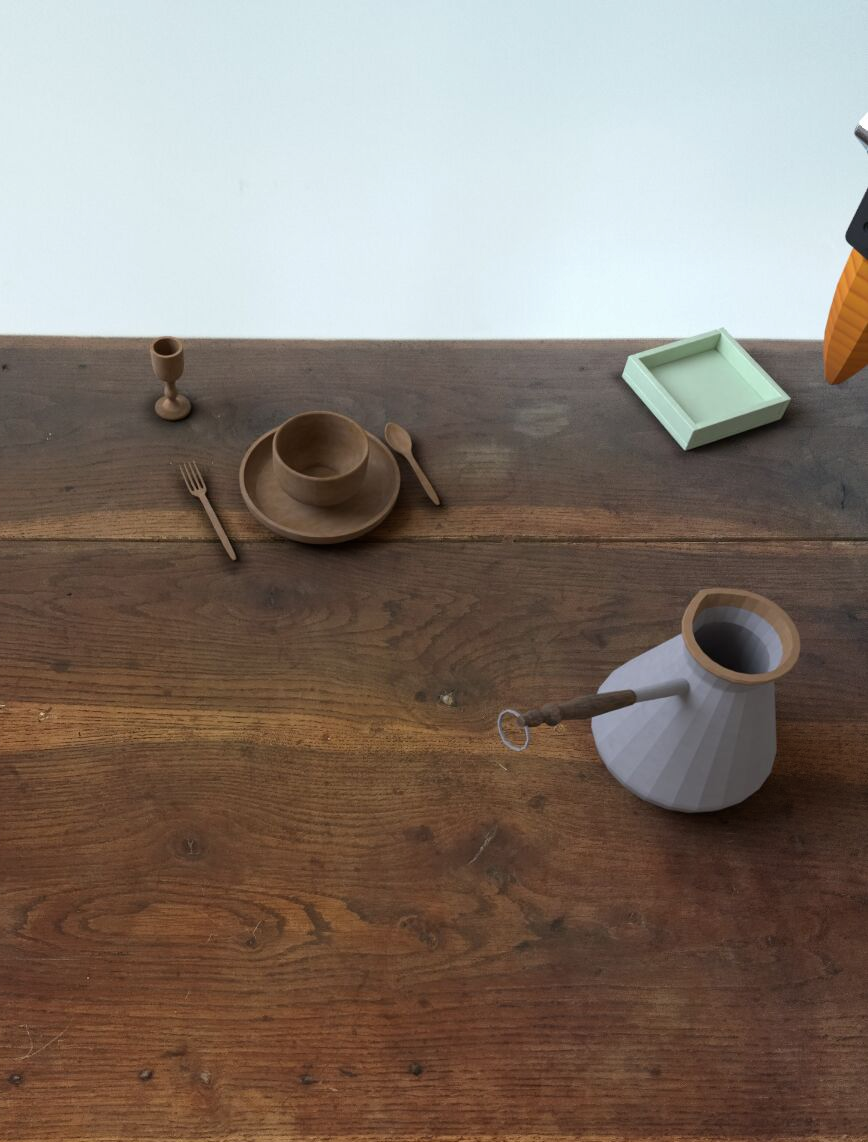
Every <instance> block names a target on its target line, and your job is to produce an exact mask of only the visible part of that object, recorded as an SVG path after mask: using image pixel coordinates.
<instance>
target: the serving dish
mask: <svg viewBox="0 0 868 1142" xmlns="http://www.w3.org/2000/svg"><path fill="white" fill-rule="evenodd" d="M621 378H622V379H623V380H624V381H625V382H626V383H627V385H628V386H629V388H631V390H632V391H634V393H635V394H636V395H637V396H638V398H639V399H640V400H641V401H642V403H644V404H645V405H646V407H647V408H648V410H650V412H651V413H652V414H653V415H654V417H656V419H657V420H658V421H659V423H660V424H661V425H662V426H663V427H664V428H665V429H666V430H667V432H668V433H669V434H670V435H671V437H672V438H673V439H674V440H675V442H677V443H678V445H679V446H680V447H681V448H682V449H683V450H684V451H685V452H686V451H689V450H692V449H695V448H698V447H701V446H704V445H707V444H710V443H713V442H716V441H719V440H722V439H725V438H728V437H731V436H734V435H737V434H741V433H743V432H746V431H748V430H749V431H750V430H752V429H755V428H759V427H761V426H764V425H767V424H770V423H774V422H776V421H779V420H781V419H782V417H783V416H784V413H785V412H786V410H787V408H788V406H789V404H790V402H791V400H792V398H791V397H790V396H789V394H787V392H786V391H784V389H782V387H781V386H780V385H779V384H778V383H777V382H776V381H775V380H774V379H773V377H771V376H770V375H769V374H768V373H767V371H765V369H764V368H762V366H761V365H760V363H758V362H757V361H756V360H755V359H754V358H753V357H752V356H751V355H750V354H749V352H747V351H746V350H745V348H744V347H742V345H741V344H740V343H739V342H738V341H737V340H736V339H735V338H734V336H732V335H731V333H730V332H728V330H727V329H725V327H720V328H716V329H712V330H710V331H707V332H704V333H703V332H702V333H700V334H696V335H693V336H690V337H687V338H683V339H680V340H675V341H673V342H670V343H667V344H664V345H660V346H656V347H653V348H651V349H647V350H644V351H640V352H638V353H635V354H631V355H629V356H628V357H627V360H626V364H625V366H624V369H623V372H622V375H621Z"/></svg>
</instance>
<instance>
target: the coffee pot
mask: <svg viewBox="0 0 868 1142" xmlns="http://www.w3.org/2000/svg"><path fill="white" fill-rule="evenodd" d="M796 626H797V625H795V623H794V621H793V620H792V619H791V617H790V616H789V615H788V613H787V612H786V611H784V609H783V608H781V607H780V606H779V605H777V603H776V602H773V601H772V600H770V599H768V598H766V597H765V596H763V595H761V594H757V593H755V592H752V591H749V590H744V589H739V588H738V589H737V588H724V587H723V588H722V587H716V588H715V587H714V588H702V589H700V590H699V591H698V592H697V593H696V595H695V596H694V597H693V598H692V600H691V601H690V602H689V604H688V605H687V607H686V609H685V610H684V614H683V616H682V620H681V633H679V634H677V635H675V636H674V637H672V638H670V639H669V640H666V641H664V642H662V643H661V644H658V645H657V646H655V647H653V648H651V649H649V650H647V651H646V652H644V653H642V654H640V655H637V656H636V657H634V658H631V659H630V660H628V661H627V662H625V663H624V664H623V665H620V666H619V667H617V668H616V669H615V670H613V671H612V672H611V673H610V674H609V675H608V677H606V679H605V680H604V681H603V683H602V684H601V685H600V686H599V687H598V690H597V693H592V694H585V695H579V696H578V695H577V696H576V697H574V698H572V699H569V700H567V701H565V702H562V703H560V704H557V703H555V702H553V701H552V702H547V703H545V704H543V707H542V709H540V710H539V709H530V710H528V711H526V712H524V713H522V714H520V713H519V712H518V711H516V710H513V709H511V708H509V709H505V710H504V711H502V712H500V713H499V716H498V719H497V728H498V733H499V735H500V737H501V740H502V742H503V743H504V745H506V746H507V747H508V748H509V749H511V750H512V751H513V750H514V751H517V752H521V751H523V750H525V749H528V747H529V745H530V742H531V740H532V738H531V732H530V728H538V727H540V726H541V725H542V724H545V725H547V726H548V727H552V728H553V727H557V726H558V725H560V724H561V722H562V721H584V720H589V719H591V725H590V728H591V732H592V735H593V739H594V743H595V747H596V750H597V752H598V755H599V756H600V758H601V760H602V762H603V763H604V766H605V767H606V768H607V770H608V772H609V773H610V774H611V776H613V778H615V779H616V781H618V783H620V784H621V786H623V788H624V789H626V790H628V791H629V792H630V793H632V794H633V795H635V796H637V797H638V798H639V799H641V800H643V802H646V803H649V804H652V805H654V806H656V807H659V808H662V809H665V810H669V811H676V812H682V813H687V814H692V813H708V812H715V811H720V810H723V809H727V808H729V807H732V806H735V805H738V804H740V803H742V802H743V801H744V800H746V799H747V798H748V797H750V796H751V795H753V794H754V793H756V792H757V791H759V790H760V788H761V787H762V785H763V784H764V783H765V781H766V780H767V779H768V777H769V776H770V774H771V773H772V770H773V766H774V762H775V758H776V755H777V751H778V749H777V722H776V693H775V682H776V681H779V680H781V679H782V678H784V677H785V676H786V675H788V674H789V673H791V671H792V670H793V669H794V667H795V666H796V665H797V663H798V660H799V657H800V654H801V653H800V652H801V639H800V638H801V637H800V634H799V631H798V629H797V627H796ZM507 713H510V714H513V715H514V716H516V717H517V718H516V724H517V726H518V727H519V728H524V730H525V734H526V741H525V744H524V746H523V747H521V748H520V747H516V746H514V745H513V744H512V743H511V742H509V741H508V740H507V738H506V736H505V733H504V731H503V725H502V720H503V717H504V715H505V714H507Z"/></svg>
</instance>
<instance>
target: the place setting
mask: <svg viewBox="0 0 868 1142" xmlns="http://www.w3.org/2000/svg"><path fill="white" fill-rule="evenodd" d="M149 349H150V350H149V351H150V359H151V364H152V369H153V372H154V374H155V376H156V377H157V378H158V379H159V381H162V382H164V384H165V388H164V392H163V393H164V396H162V397H160V398H159V399H158V400H157V401H156V402H155V405H154V410H155V412H156V414H157V416H159V417H160V418H161V419H163V420H166V421H179V420H183V419H184V418H186V417H187V416H188V415H189V414H190V412H191V410H192V405H191V402H190V400H189V399H188V398H187V397H185V396H183V395H181V394H179V389H178V387H177V386H176V381H178V380H179V379H180V378H181V377H182V376H183V374H184V370H185V357H184V347H183V343H182V341H181V340H180V339H179V338H177V337H174V336H172V335H162V336H159V337H157V338H154V339H153V340H152V342H151V343H150V347H149ZM384 439H385V441H386V442H387V445H388V446H389V447H390V448H391V449H392V450H393V451H394V452H396V453H397V454H399V455H401V456H403V457H404V458H406V460H407V461H408V463H409V464H410V466H411V468H412V469H413V471H414V473H415V475H416V477H417V478H418V481H419V482H420V484H421V486H422V487H423V490H424V491H425V493H426V494H427V496H428V497H429V499H430V500H431V501H432V502H433V503H434V504H435V506H439V505H440V500H439V498H438V497H439V496H438V495H437V492H436V491H435V489H434V488H433V485H432V484H431V483H430V481H429V480H428V478H427V476H426V475H425V473H424V472H423V470H422V469H421V466H420V465H419V464H418V462H417V460H416V459H415V458H414V456H413V452H412V448H413V442H412V438H411V436H410V434H409V433H408V431H407V430H406V429H404V427H402V426H400V425H398V424H397V423H394V422H388V423H386V425H385V427H384ZM387 445H386V444H384V442H382V440H380V439H379V438H378V437H377V436H376V435H374V434H372V433H371V432H368V431H367V430H365V429H364V428H363V427H361V425H360V424H359V423H357V422H356V421H354V420H353V419H352V418H350V417H349V416H345V415H343V414H340V413H337V412H333V411H327V410H324V411H323V410H313V411H312V410H311V411H307V412H303V413H299V414H297V415H294V416H292V417H290V418H288V419H287V420H286V421H284V422H283V423H282V424H281V425H279V426H277V427H274V428H273V429H270V430H269V431H267V432H266V433H264V434H262V435H261V436H260V437H259V438H257V439H256V440H255V441H254V442H253V443H252V444H251V445H250V446H249V448H248V449H247V451H246V452H245V454H244V455H243V458H242V459H241V463H240V467H239V474H238V475H239V476H238V479H239V489H240V493H241V497H242V499H243V501H244V503H245V505H246V507H247V509H248V510H249V512H250V513H251V514H252V516H253V517H254V518H255V519H256V520H257V521H258V522H259V523H260V524H261V525H262V526H264V527H265V528H266V529H268V530H269V531H271V532H273V533H275V534H276V535H278V536H280V537H283V538H285V539H288V540H290V541H294V542H298V543H303V544H310V545H333V544H339V543H344V542H347V541H352V540H354V539H358V538H360V537H362V536H364V535H366V534H367V533H369V532H371V531H372V530H374V529H375V528H377V527H378V526H379V525H380V524H381V523H382V522H383V521H384V520H385V519H386V518H387V517H388V515H390V513H391V512H392V510H393V508H394V506H395V505H396V502H397V499H398V496H399V491H400V486H401V473H400V468H399V465H398V462H397V460H396V458H395V457H394V454H393V453H392V452H391V450H390V449H389V448H388V446H387ZM192 462H193V465H194V468H195V470H196V472H195V471H194V469H193V466H192V464H191V462H190V461H188V466H189V469H190V471H191V473H190V471H189V469H188V467H187V465H186V463H185V462H184V463H183V466H184V469H185V471H186V474H187V476H188V478H187V476H186V474H185V471H184V470H183V468H182V467H183V466H182V465H181V464H178V465H179V469H180V473H181V475H182V477H183V480H184V482H185V485H186V486H187V489H188V491H189V493H190V494H191V495H192V496H194V497H196V498H199V500H200V501H201V503H202V506H203V507H204V509H205V511H206V513H207V515H208V518H209V520H210V521H211V523H212V526H213V528H214V530H215V532H216V534H217V536H218V538H219V540H220V541H221V543H222V545H223V547H224V549H225V551H226V552H227V555H228V556H229V557H230V559H231V560H232V561H235V560H237V556H236V553H235V551H234V548H233V546H232V545H231V543H230V540H229V538H228V536H227V534H226V532H225V531H224V529H223V526H222V524H221V523H220V521H219V518H218V516H217V515H216V513H215V511H214V509H213V507H212V505H211V503H210V502H209V500H208V497H207V495H206V494H207V492H208V490H207V487H206V486H207V485H206V484H205V481H204V479H203V476H202V475H201V472H200V470H199V468H198V466H197V463H196V462H195V460H193V461H192ZM196 473H197V475H198V477H199V479H198V477H197V475H196ZM191 474H192V476H193V478H194V480H195V482H194V480H193V478H192V476H191ZM188 479H189V481H190V483H189V481H188ZM199 480H200V481H199ZM195 483H196V485H197V487H198V489H197V487H196V485H195ZM200 483H201V484H202V486H203V488H202V486H201V484H200ZM190 484H191V486H192V488H193V490H192V488H191V486H190Z"/></svg>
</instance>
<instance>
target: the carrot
mask: <svg viewBox="0 0 868 1142" xmlns="http://www.w3.org/2000/svg"><path fill="white" fill-rule="evenodd" d="M838 279H839V280H838V282H837V283H836V286H835V291H834V294H833V297H832V301H831V303H830V308H829V312H828V316H827V319H826V324H825V328H824V333H823V334H824V335H823V336H824V337H823V349H822V352H823V353H822V357H823V370H824V377H825V381H826V382H827V383H828V385H830V386H837V385H838V386H839V385H841V384H843V383H844V382H846V381H847V380H849V379H850V378H851V377H853V376H855V375H857V374H858V373H859V372H861V371H862V370H864V369H865V368H866V367H868V260H866V259H865V258H864V257H863V256H862V255H861V254H860V253H859V252H857V251H856V250H855V249H854V248H853V247H852V249H851V252H850V253H849V256H848V259H847V261H846V263H845V265H844V268H843V270H842V272H841V274H840V277H839V278H838Z"/></svg>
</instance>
